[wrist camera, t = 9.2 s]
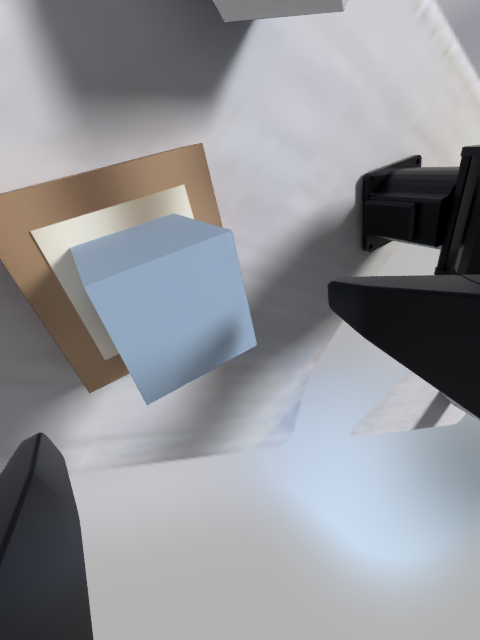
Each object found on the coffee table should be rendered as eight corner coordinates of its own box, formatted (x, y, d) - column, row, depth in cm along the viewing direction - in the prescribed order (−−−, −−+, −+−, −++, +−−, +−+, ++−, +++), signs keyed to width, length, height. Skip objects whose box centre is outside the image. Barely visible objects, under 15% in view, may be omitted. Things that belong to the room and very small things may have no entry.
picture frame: (183, 146, 17) (203, 142, 15) (225, 303, 22) (244, 316, 20) (-25, 200, 13) (-37, 204, 11) (85, 370, 18) (89, 394, 16)
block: (173, 213, 15) (231, 230, 10) (201, 299, 18) (257, 344, 13) (70, 247, 13) (83, 286, 9) (117, 337, 16) (146, 405, 11)
